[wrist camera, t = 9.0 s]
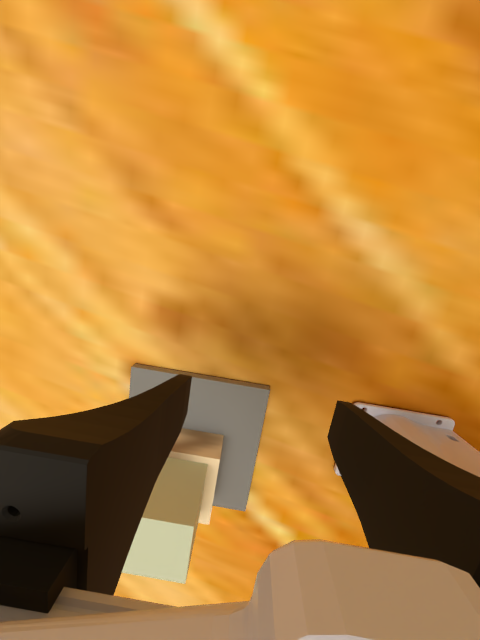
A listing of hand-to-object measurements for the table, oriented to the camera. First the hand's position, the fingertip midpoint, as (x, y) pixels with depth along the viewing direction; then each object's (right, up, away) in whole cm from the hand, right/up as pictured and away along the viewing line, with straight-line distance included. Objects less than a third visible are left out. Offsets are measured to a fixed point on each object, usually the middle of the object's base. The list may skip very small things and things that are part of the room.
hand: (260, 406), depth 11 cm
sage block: (-7, -10, +9) cm, 15 cm away
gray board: (-6, -8, +12) cm, 16 cm away
